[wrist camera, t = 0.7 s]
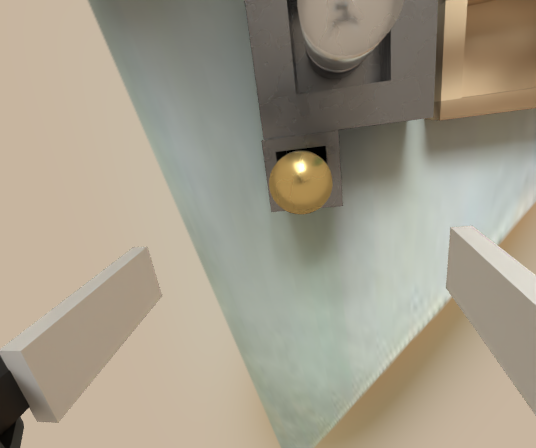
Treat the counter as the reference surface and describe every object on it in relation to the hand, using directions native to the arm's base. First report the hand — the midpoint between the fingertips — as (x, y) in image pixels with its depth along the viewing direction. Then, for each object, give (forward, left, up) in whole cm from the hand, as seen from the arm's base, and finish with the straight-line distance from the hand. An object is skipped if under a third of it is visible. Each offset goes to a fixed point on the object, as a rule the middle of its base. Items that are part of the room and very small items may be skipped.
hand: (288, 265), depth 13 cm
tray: (-9, +17, -21) cm, 28 cm away
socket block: (-8, +4, -21) cm, 23 cm away
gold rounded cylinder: (-2, 0, -16) cm, 16 cm away
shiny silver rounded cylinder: (-11, +4, -18) cm, 21 cm away
